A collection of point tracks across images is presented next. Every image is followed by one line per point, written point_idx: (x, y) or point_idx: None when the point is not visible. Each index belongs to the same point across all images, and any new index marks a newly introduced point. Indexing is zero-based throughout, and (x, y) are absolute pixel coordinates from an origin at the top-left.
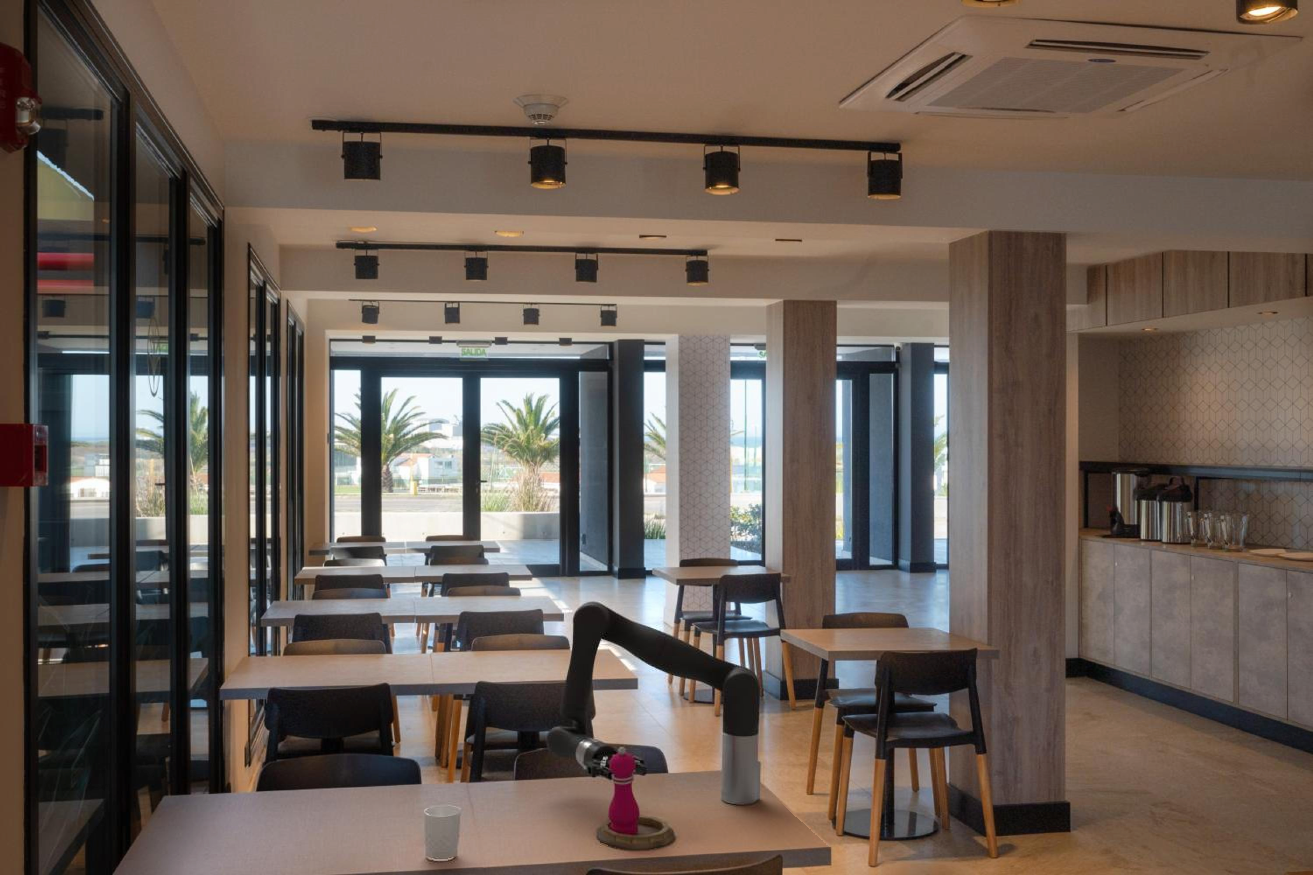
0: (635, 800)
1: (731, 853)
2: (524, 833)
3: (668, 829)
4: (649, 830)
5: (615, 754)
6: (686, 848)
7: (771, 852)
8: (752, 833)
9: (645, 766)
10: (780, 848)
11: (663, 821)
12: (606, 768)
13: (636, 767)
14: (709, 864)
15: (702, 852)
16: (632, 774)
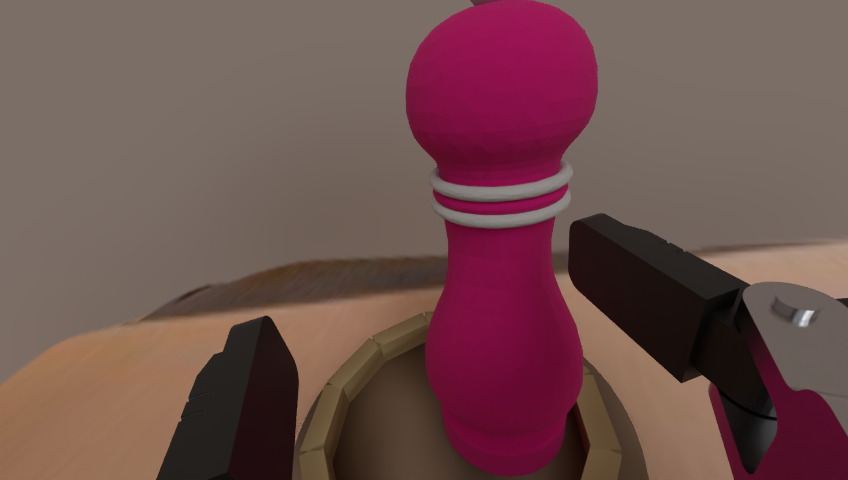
0: (438, 302)
1: (259, 304)
2: None
3: (336, 375)
4: (389, 446)
5: (551, 8)
6: (334, 330)
7: (182, 308)
8: (70, 431)
9: (192, 390)
10: (142, 326)
11: (308, 459)
12: (676, 260)
13: (261, 476)
14: (338, 262)
15: (313, 309)
16: (437, 170)
